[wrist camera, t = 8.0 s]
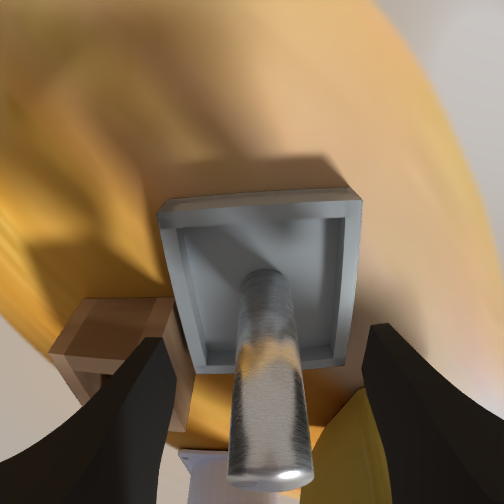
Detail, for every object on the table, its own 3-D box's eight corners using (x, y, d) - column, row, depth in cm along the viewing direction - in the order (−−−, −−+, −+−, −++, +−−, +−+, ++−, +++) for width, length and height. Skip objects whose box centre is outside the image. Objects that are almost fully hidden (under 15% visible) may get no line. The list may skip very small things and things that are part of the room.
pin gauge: (290, 308, 13) (310, 490, 6) (242, 310, 13) (231, 492, 6) (290, 267, 12) (318, 461, 5) (238, 269, 13) (220, 464, 5)
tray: (338, 344, 15) (344, 365, 14) (200, 352, 16) (196, 373, 14) (350, 187, 12) (362, 199, 10) (167, 199, 12) (156, 213, 10)
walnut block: (196, 371, 16) (185, 432, 13) (114, 367, 16) (93, 421, 13) (175, 297, 14) (154, 361, 10) (83, 298, 14) (47, 352, 11)
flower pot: (285, 437, 20) (291, 551, 12) (346, 359, 16) (383, 515, 8) (383, 441, 21) (405, 534, 13) (452, 373, 17) (500, 481, 9)
